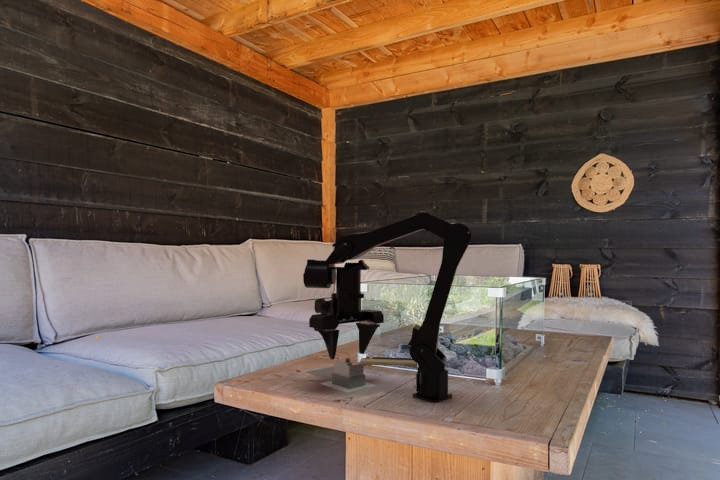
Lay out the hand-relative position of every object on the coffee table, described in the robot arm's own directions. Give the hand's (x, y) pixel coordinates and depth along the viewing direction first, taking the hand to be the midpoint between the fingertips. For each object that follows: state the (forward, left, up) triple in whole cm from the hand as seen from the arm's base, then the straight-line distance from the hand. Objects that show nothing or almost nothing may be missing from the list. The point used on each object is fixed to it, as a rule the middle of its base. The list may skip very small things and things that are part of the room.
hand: (347, 356), depth 111 cm
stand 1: (+11, -4, -8) cm, 14 cm away
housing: (0, 0, -7) cm, 7 cm away
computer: (+10, -24, -9) cm, 27 cm away
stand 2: (0, 0, -8) cm, 8 cm away
